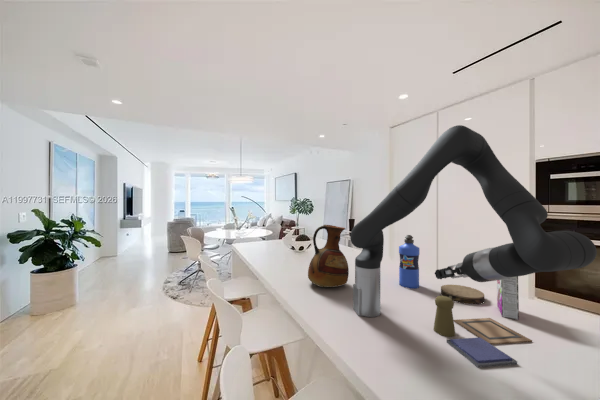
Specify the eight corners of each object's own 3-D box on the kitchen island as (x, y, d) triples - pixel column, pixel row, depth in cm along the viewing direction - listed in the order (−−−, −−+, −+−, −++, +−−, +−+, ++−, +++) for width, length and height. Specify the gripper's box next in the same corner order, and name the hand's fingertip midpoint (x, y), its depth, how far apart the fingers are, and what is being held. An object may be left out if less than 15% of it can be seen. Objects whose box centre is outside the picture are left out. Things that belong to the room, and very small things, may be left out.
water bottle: (401, 281, 127) (401, 233, 127) (421, 284, 121) (421, 234, 121) (396, 286, 119) (396, 235, 119) (417, 290, 114) (417, 237, 114)
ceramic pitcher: (352, 292, 111) (352, 226, 111) (308, 291, 111) (308, 226, 111) (344, 278, 130) (345, 223, 131) (307, 278, 131) (307, 222, 131)
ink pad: (477, 367, 60) (477, 362, 60) (446, 342, 71) (446, 338, 71) (517, 364, 61) (517, 359, 61) (480, 340, 72) (480, 336, 72)
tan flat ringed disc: (451, 288, 117) (451, 282, 117) (491, 299, 103) (491, 292, 103) (433, 295, 108) (433, 288, 108) (474, 308, 95) (474, 300, 95)
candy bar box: (496, 305, 97) (495, 264, 97) (512, 308, 94) (512, 266, 94) (501, 317, 87) (500, 271, 87) (519, 320, 85) (519, 273, 85)
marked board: (489, 344, 70) (489, 342, 70) (453, 321, 84) (453, 319, 84) (532, 342, 71) (532, 340, 71) (489, 319, 85) (489, 317, 85)
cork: (459, 338, 73) (458, 301, 74) (437, 335, 75) (437, 300, 75) (450, 327, 79) (450, 294, 79) (430, 326, 81) (430, 292, 81)
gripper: (507, 246, 62) (465, 257, 77) (456, 253, 61) (423, 264, 76) (522, 276, 59) (476, 282, 74) (469, 285, 58) (432, 289, 73)
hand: (449, 273), depth 75 cm, fingers open, 8 cm apart
